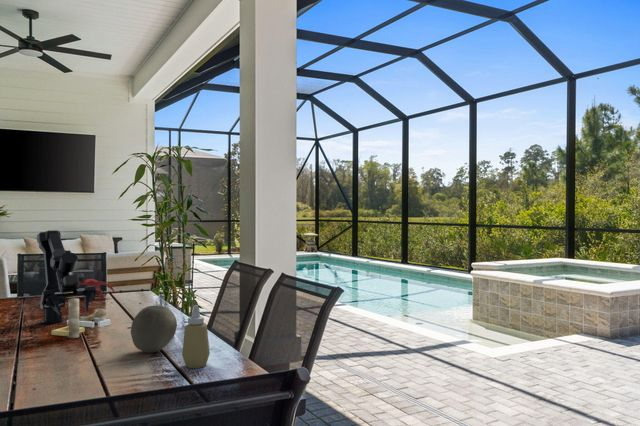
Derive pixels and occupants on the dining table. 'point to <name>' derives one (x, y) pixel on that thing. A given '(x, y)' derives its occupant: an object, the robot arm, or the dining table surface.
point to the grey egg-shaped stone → (153, 328)
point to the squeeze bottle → (195, 341)
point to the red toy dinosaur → (95, 283)
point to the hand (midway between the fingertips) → (73, 312)
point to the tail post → (73, 318)
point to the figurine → (93, 316)
